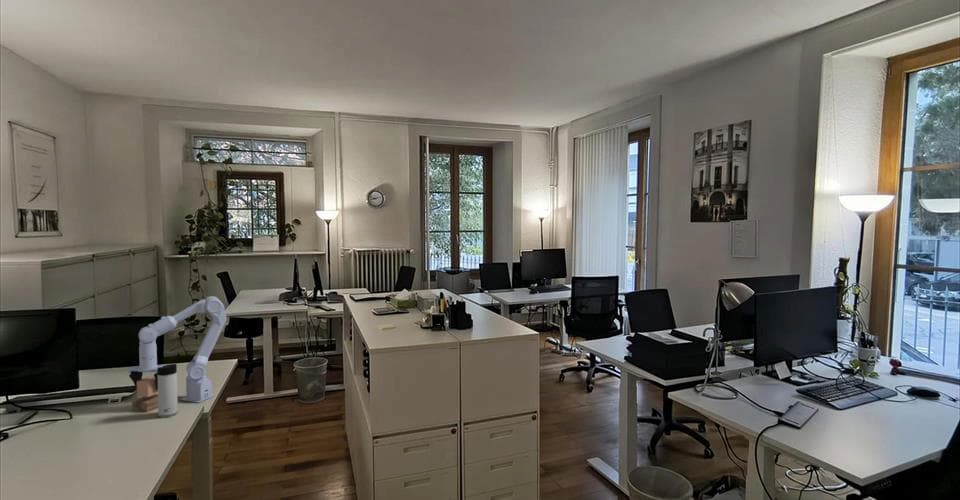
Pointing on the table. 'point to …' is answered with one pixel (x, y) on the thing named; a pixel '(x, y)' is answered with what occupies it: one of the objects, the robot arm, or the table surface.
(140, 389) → the terracotta block
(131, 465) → the table surface
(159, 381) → the travel mug
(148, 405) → the walnut block
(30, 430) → the table surface
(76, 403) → the table surface
